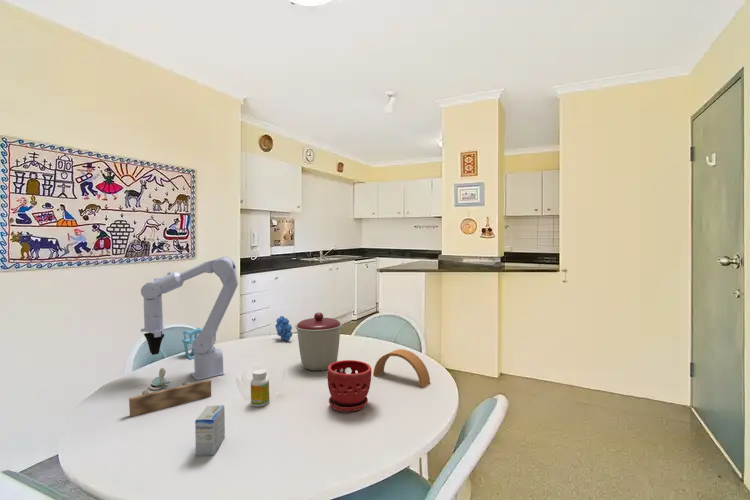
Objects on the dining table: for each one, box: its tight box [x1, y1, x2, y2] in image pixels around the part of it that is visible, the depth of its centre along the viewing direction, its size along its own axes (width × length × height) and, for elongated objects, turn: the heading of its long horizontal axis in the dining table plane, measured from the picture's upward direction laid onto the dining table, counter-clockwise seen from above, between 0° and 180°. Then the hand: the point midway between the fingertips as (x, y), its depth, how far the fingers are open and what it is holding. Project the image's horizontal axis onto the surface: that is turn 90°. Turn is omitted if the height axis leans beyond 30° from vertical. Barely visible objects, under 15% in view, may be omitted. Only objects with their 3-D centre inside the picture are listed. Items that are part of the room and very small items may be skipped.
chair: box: [181, 327, 203, 360], centre depth 166 cm, size 8×8×12 cm
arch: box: [372, 348, 431, 389], centre depth 137 cm, size 6×20×10 cm, turn 54°
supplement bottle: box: [250, 369, 270, 407], centre depth 118 cm, size 5×5×10 cm
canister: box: [294, 312, 343, 371], centre depth 151 cm, size 18×18×21 cm
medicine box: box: [194, 404, 226, 457], centre depth 94 cm, size 8×4×9 cm, turn 5°
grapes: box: [275, 315, 293, 342], centre depth 187 cm, size 12×7×12 cm, turn 51°
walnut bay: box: [128, 378, 212, 418], centre depth 121 cm, size 22×10×5 cm, turn 129°
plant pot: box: [326, 359, 372, 413], centre depth 116 cm, size 13×13×12 cm
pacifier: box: [147, 367, 171, 391], centre depth 132 cm, size 7×6×6 cm
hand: (154, 353), depth 138 cm, fingers open, 2 cm apart
